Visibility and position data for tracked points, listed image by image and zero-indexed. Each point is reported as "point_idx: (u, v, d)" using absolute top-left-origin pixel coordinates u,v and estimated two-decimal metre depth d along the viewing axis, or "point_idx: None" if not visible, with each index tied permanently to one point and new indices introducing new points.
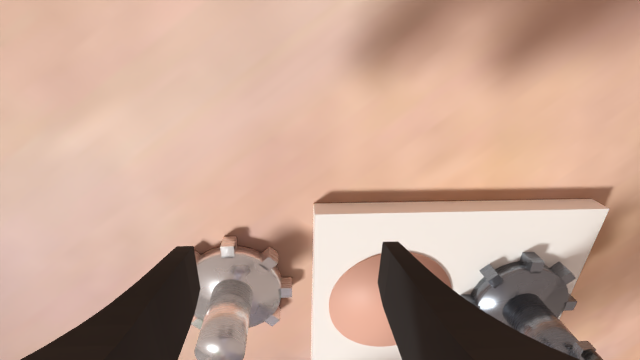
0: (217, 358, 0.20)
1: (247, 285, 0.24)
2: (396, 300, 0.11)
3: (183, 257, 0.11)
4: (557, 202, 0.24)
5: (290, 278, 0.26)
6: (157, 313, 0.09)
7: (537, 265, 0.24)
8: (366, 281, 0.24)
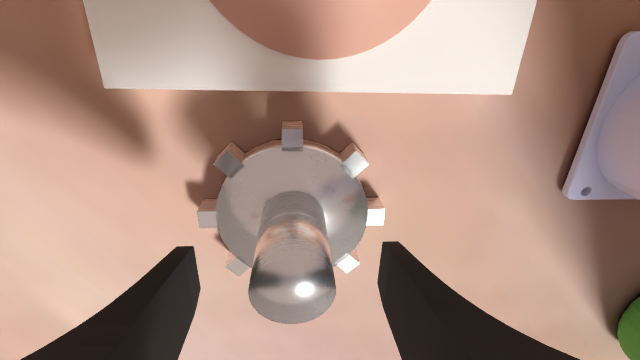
0: (307, 296, 0.12)
1: (273, 196, 0.15)
2: (396, 300, 0.11)
3: (183, 257, 0.11)
4: None
5: None
6: (157, 313, 0.09)
7: None
8: None
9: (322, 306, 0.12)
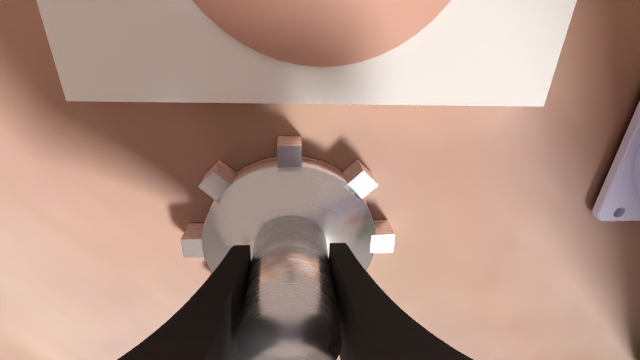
0: (307, 351, 0.10)
1: (268, 222, 0.13)
2: (337, 302, 0.11)
3: (245, 255, 0.11)
4: None
5: None
6: (231, 310, 0.09)
7: None
8: None
9: None
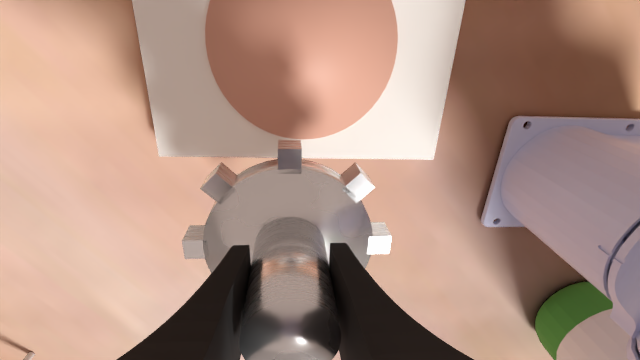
0: (308, 346, 0.10)
1: (268, 224, 0.14)
2: (337, 302, 0.11)
3: (244, 255, 0.11)
4: None
5: None
6: (230, 310, 0.09)
7: None
8: (258, 89, 0.17)
9: (325, 356, 0.10)
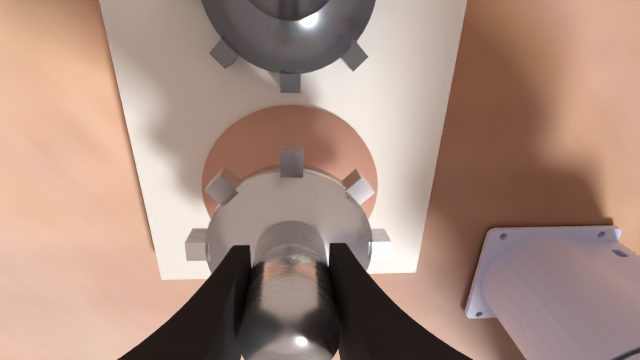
0: (306, 346, 0.10)
1: (270, 227, 0.14)
2: (337, 302, 0.11)
3: (245, 255, 0.11)
4: None
5: None
6: (231, 310, 0.09)
7: None
8: None
9: (324, 357, 0.10)
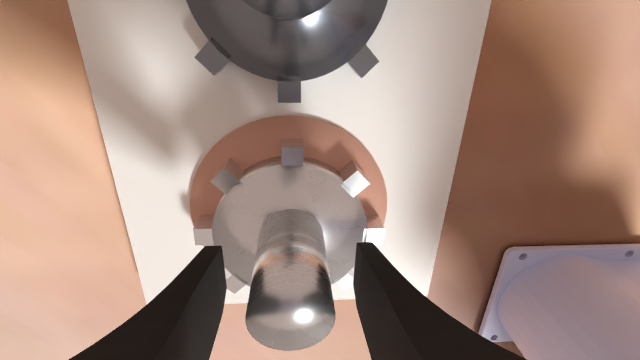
0: (305, 323, 0.11)
1: (272, 215, 0.15)
2: (367, 301, 0.11)
3: (214, 256, 0.11)
4: None
5: None
6: (194, 312, 0.09)
7: None
8: None
9: (321, 333, 0.12)
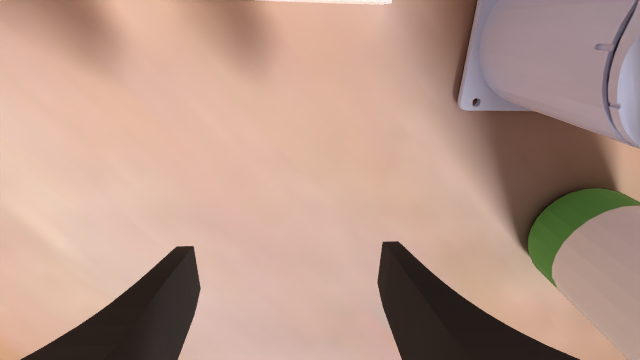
0: None
1: None
2: (396, 300, 0.11)
3: (183, 257, 0.11)
4: None
5: None
6: (157, 313, 0.09)
7: None
8: None
9: None
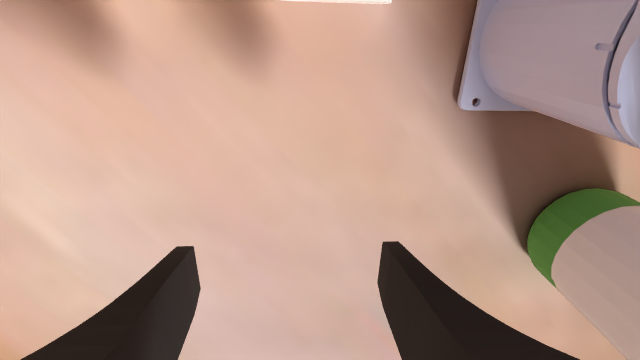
0: None
1: None
2: (396, 300, 0.11)
3: (183, 257, 0.11)
4: None
5: None
6: (157, 313, 0.09)
7: None
8: None
9: None
